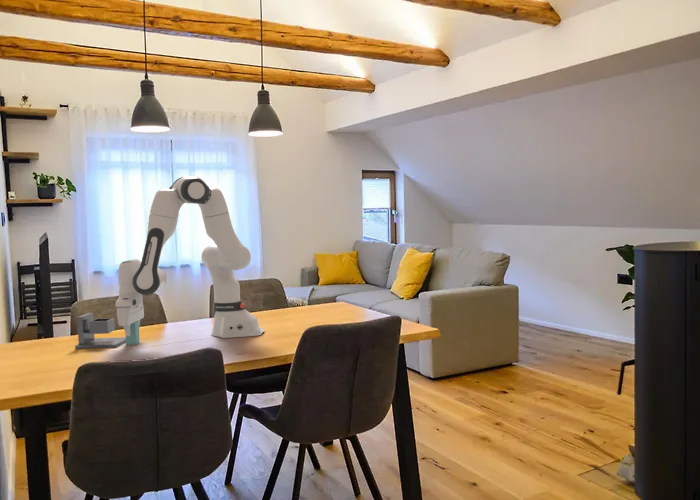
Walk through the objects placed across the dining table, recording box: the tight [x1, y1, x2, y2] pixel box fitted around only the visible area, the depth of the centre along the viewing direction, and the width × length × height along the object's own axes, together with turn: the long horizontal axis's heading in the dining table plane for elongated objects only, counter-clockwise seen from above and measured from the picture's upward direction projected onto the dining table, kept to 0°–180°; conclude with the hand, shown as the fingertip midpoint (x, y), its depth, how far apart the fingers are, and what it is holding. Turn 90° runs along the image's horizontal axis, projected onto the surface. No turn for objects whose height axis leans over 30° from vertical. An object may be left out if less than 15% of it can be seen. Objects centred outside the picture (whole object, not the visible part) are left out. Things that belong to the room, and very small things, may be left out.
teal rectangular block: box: [125, 321, 140, 345], centre depth 229 cm, size 4×4×9 cm
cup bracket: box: [74, 312, 126, 350], centre depth 229 cm, size 16×14×12 cm
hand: (132, 333), depth 229 cm, fingers open, 8 cm apart
